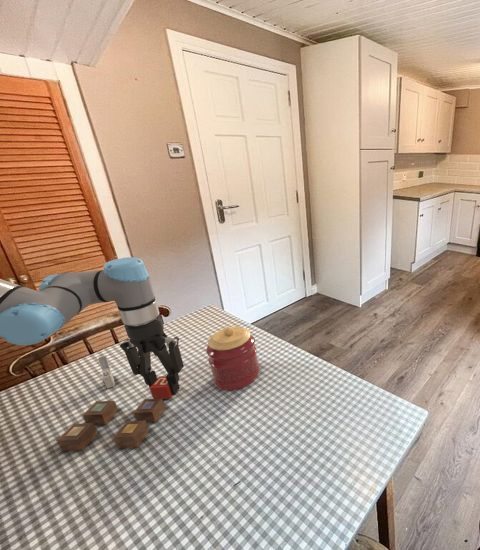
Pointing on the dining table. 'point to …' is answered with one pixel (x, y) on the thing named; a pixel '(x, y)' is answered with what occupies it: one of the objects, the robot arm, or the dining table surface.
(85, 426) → the word block
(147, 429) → the right word block
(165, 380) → the red letter cube
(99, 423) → the left word block
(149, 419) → the right word block
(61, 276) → the robot arm
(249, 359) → the kitchen canister
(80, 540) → the dining table surface
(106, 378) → the lighter
